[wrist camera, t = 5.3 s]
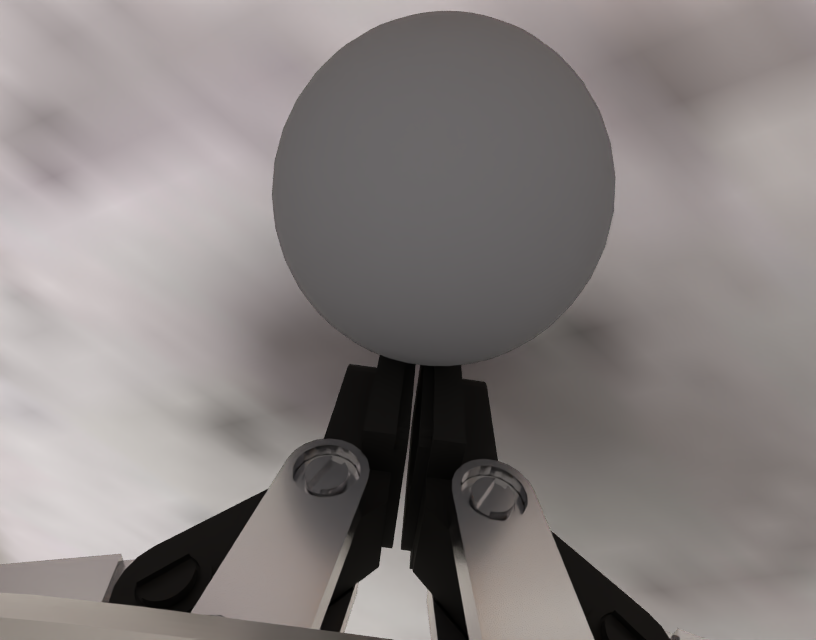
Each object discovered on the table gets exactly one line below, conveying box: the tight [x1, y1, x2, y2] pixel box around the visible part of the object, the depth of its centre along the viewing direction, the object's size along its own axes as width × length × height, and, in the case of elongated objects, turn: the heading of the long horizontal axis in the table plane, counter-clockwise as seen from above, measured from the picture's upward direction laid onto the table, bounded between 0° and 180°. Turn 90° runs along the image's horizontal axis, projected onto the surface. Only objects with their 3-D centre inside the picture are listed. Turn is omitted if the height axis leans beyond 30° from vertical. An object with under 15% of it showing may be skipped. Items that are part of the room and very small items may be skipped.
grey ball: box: [272, 11, 615, 366], centre depth 8 cm, size 6×6×6 cm
